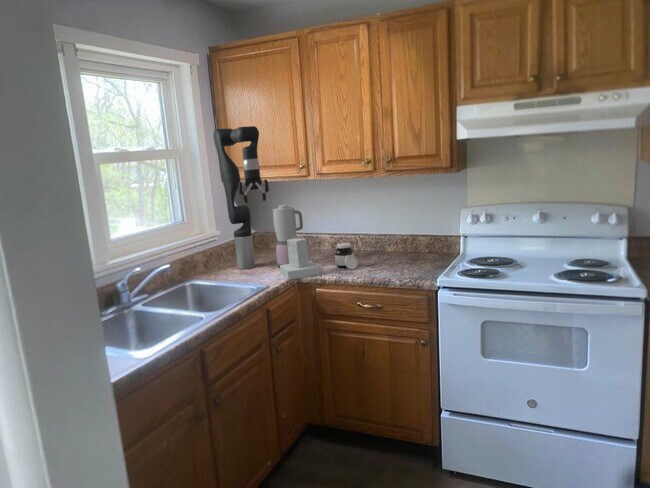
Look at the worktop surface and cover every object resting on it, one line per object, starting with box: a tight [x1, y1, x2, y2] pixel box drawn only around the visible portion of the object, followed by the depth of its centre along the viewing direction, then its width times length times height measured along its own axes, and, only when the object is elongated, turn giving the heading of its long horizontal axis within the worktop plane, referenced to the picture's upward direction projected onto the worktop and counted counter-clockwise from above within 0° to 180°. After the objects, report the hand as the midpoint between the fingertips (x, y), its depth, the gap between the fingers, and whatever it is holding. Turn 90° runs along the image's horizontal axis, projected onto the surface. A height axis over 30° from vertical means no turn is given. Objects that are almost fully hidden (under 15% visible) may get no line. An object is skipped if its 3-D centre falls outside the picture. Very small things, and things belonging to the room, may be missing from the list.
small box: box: [287, 237, 310, 268], centre depth 237 cm, size 8×6×13 cm
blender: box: [272, 204, 304, 269], centre depth 255 cm, size 16×12×32 cm
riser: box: [279, 260, 322, 281], centre depth 238 cm, size 16×16×4 cm
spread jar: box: [334, 242, 358, 270], centre depth 243 cm, size 12×11×12 cm
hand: (255, 202), depth 239 cm, fingers open, 8 cm apart
